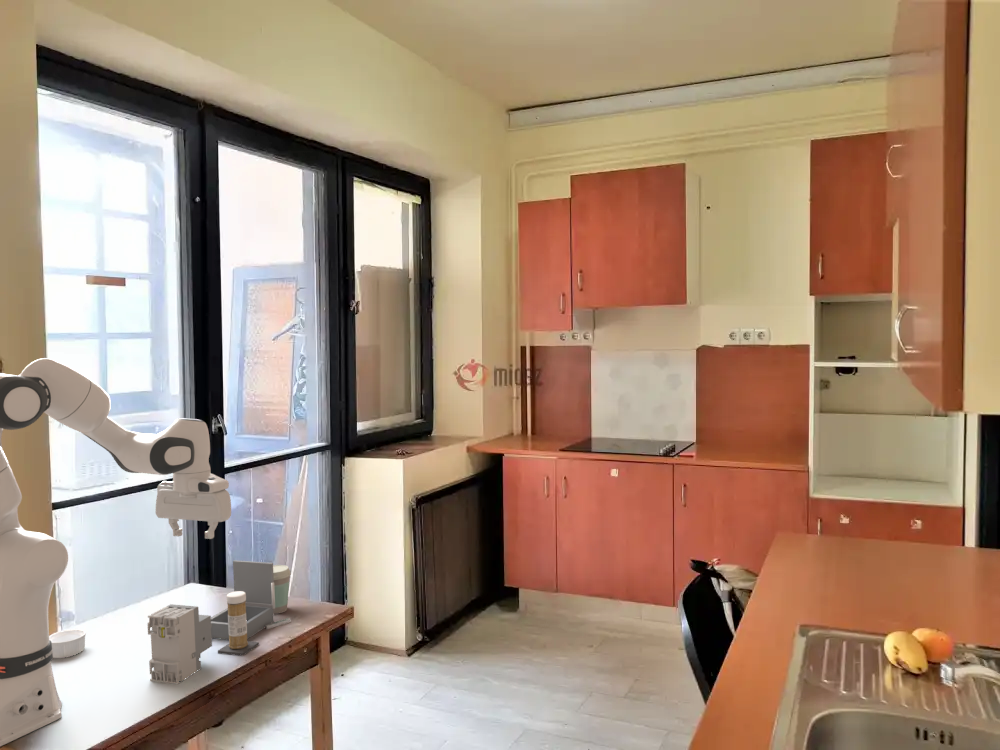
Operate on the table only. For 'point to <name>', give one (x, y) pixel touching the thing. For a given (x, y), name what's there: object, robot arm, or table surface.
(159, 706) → the table surface
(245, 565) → the case
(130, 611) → the table surface
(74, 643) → the ramekin
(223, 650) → the pad
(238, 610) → the sprinkles bottle
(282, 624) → the rod
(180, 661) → the circuit breaker
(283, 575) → the coffee cup
